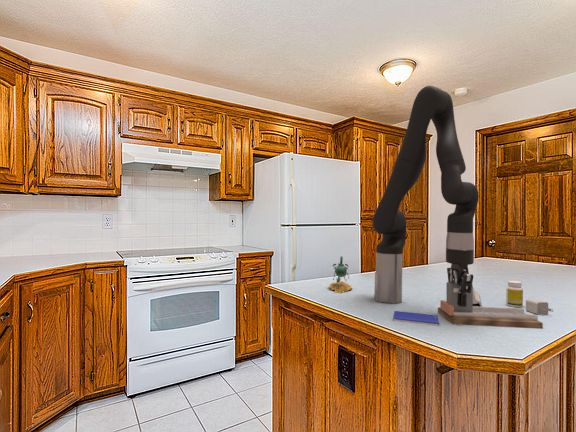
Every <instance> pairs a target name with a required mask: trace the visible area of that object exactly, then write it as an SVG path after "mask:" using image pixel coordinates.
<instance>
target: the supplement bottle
mask: <svg viewBox="0 0 576 432" xmlns="http://www.w3.org/2000/svg"><path fill="white" fill-rule="evenodd" d="M507 285H508V286H506V300H505V301H506V302H505V303H506V306H508V307H510V308H523V302H524V300H523V299H524V297H523V296H524V289H523V287H522V286H523V284H522V282H521V281H519V280H508V281H507Z"/></svg>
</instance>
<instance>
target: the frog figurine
mask: <svg viewBox="0 0 576 432" xmlns="http://www.w3.org/2000/svg"><path fill="white" fill-rule="evenodd" d="M339 258H340V259H339V263H337V264H338V265H337V264H336V263H333V264H332V267H333V269H334V273H333V274H334V275H333V279H332V280H333V282H332V283H330V284H329V286H328V288H329V289H330V290H331V291H334V293H335V294H343V293H347V292H349V291H350V290H353V288H352V285H351V284H349V283H347V282H348V281H347V279H346V276H347V278H348V279H350V275H349V274H348V272H347V270H348V269H349V264H348V263H345V264H344V263H343V262H344V261H343V258H344V257H343V256H340V257H339ZM335 275H336V276H337V277H336V276H335ZM335 278H336V282H334V280H335ZM341 278H344V281H341Z"/></svg>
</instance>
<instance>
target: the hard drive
mask: <svg viewBox="0 0 576 432" xmlns="http://www.w3.org/2000/svg"><path fill="white" fill-rule="evenodd" d="M439 319H440V318H439V315H438V314H430V313H429V314H428V313H419V312H410V311H399V310H394V311H393V317H392V321H393V322H399V323H400V322H402V323H408V324H417V325H427V326H434V327H435V326H436V327H440V325H441V324H440V320H439Z"/></svg>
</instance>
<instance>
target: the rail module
mask: <svg viewBox="0 0 576 432" xmlns="http://www.w3.org/2000/svg"><path fill="white" fill-rule="evenodd" d="M459 283H462V282H459ZM445 284H446V291H445V292H446V294H445V295H446V302H447V303H449V304H450V305H452V306H453V307H454V311H463V312H473V305H474V304H473V288H474V285H473V284H472V288H471V293H468V294H467V303H466V307H460V306H458V286H457V285H456V284H455V283H451V282H448V281H446V283H445ZM464 289H465V287H464Z"/></svg>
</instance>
